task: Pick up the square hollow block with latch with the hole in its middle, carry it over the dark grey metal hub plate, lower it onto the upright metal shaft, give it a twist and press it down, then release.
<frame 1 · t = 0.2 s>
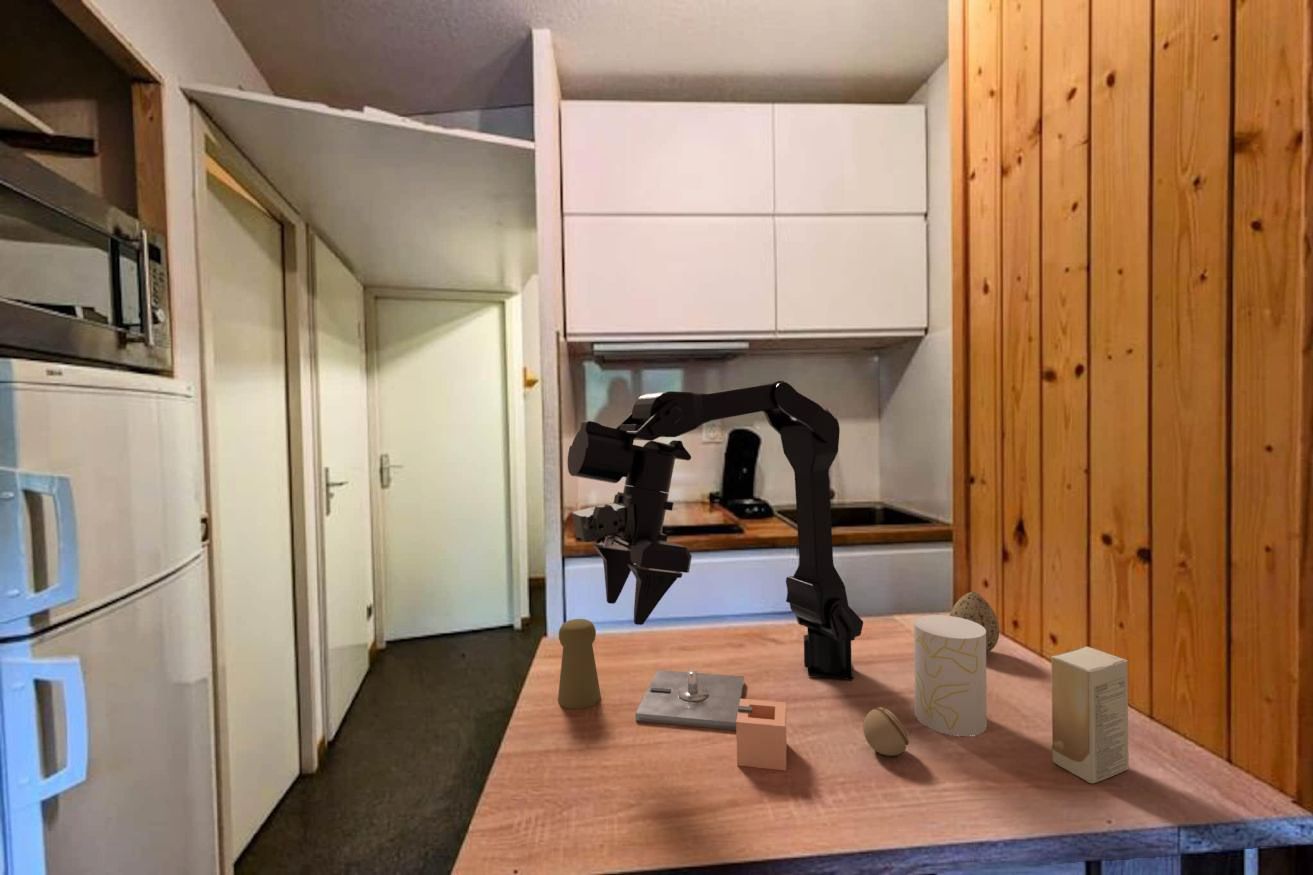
hand: (623, 613, 72), 15 cm above the table, tool pointing down, fingers open, 9 cm apart
beige rounded piece: (886, 753, 67), on the table
decorative egg: (973, 654, 93), on the table
skincare box: (1089, 768, 63), on the table
cork: (579, 699, 82), on the table
hub: (693, 700, 80), on the table
hollow block with latch: (762, 753, 67), on the table
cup: (949, 720, 73), on the table
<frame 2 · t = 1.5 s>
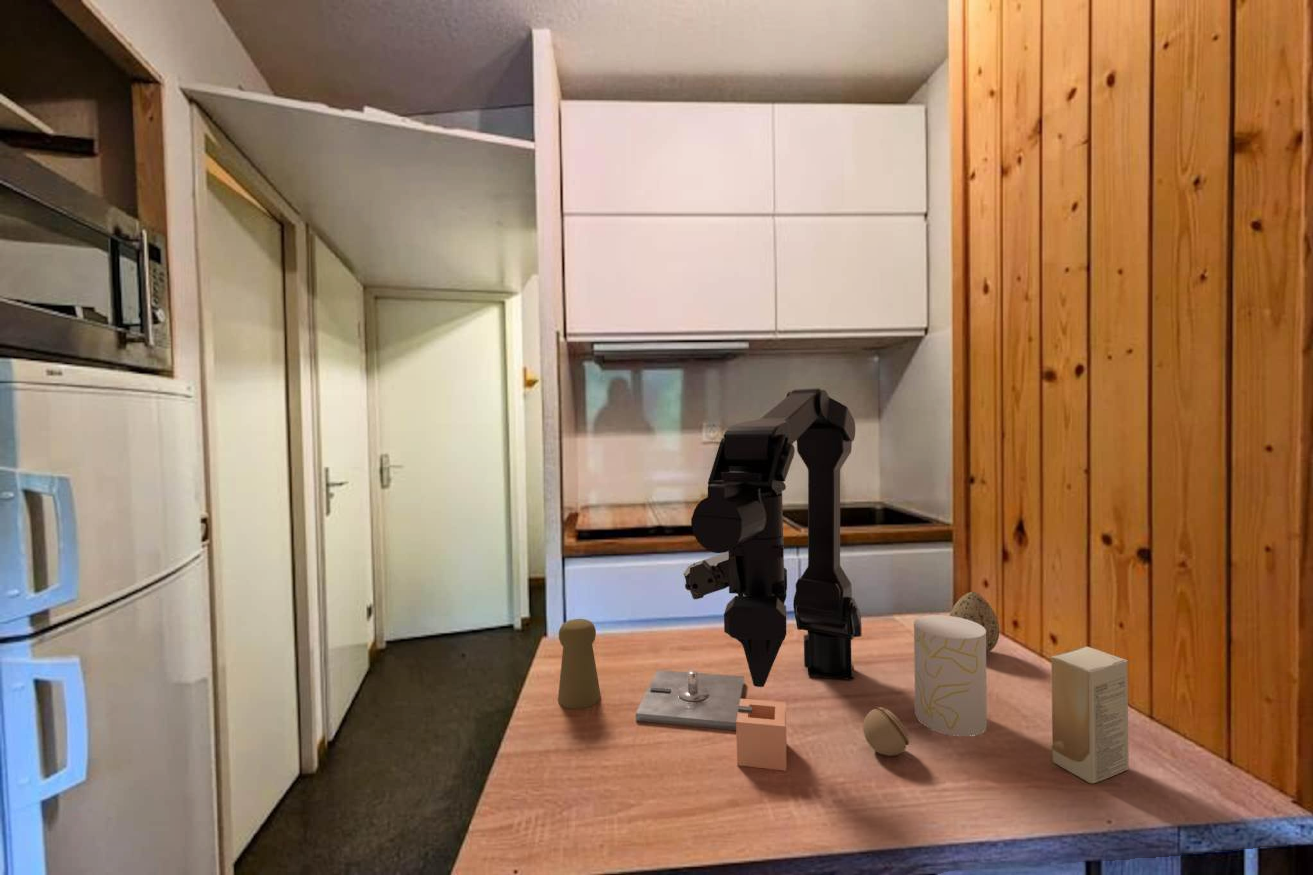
hand: (760, 667, 67), 10 cm above the table, tool pointing down, fingers open, 9 cm apart
nothing on the table moved.
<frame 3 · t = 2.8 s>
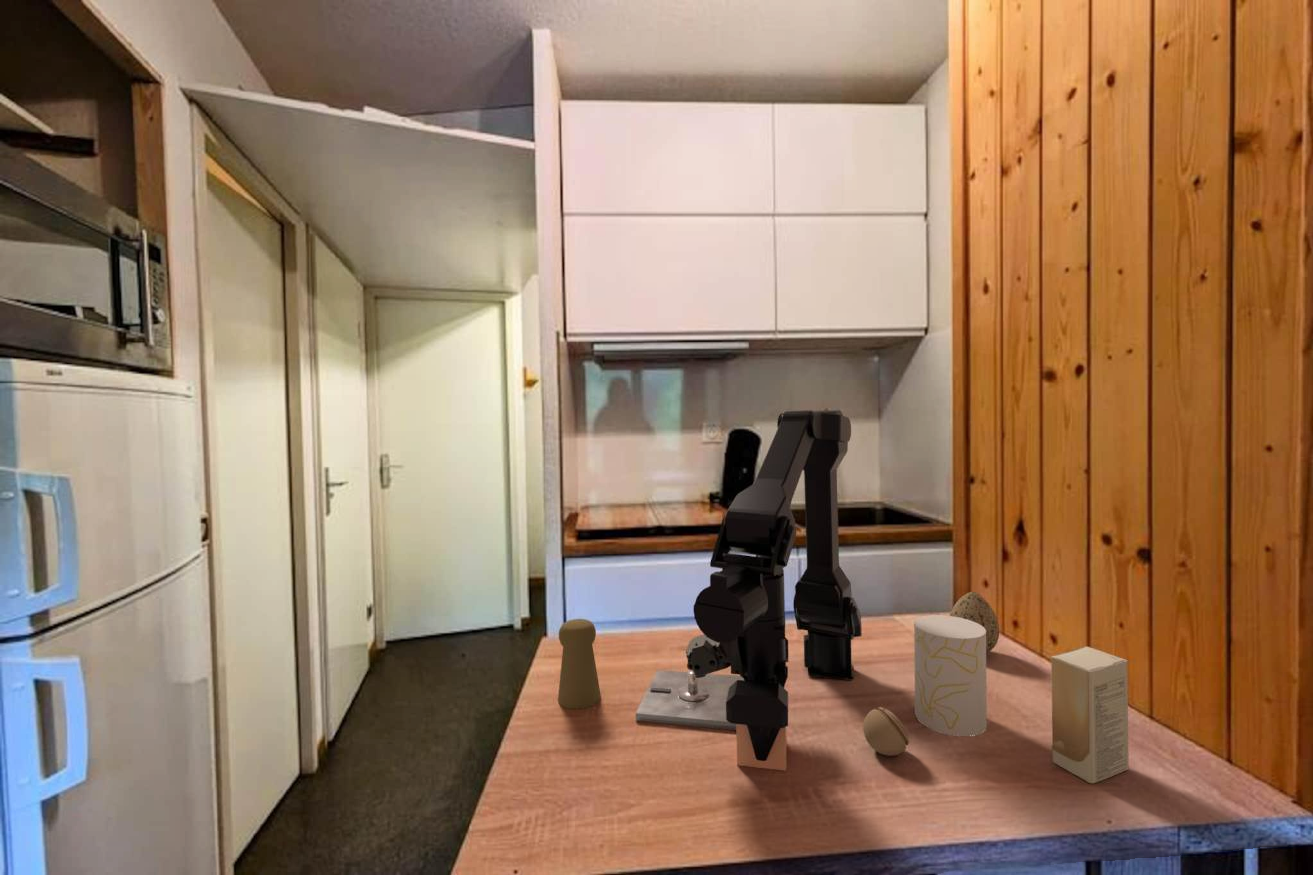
hand: (762, 745, 67), 1 cm above the table, tool pointing down, fingers closed on hollow block with latch, 5 cm apart
hollow block with latch: (762, 753, 67), on the table, touching gripper
everything else where it was.
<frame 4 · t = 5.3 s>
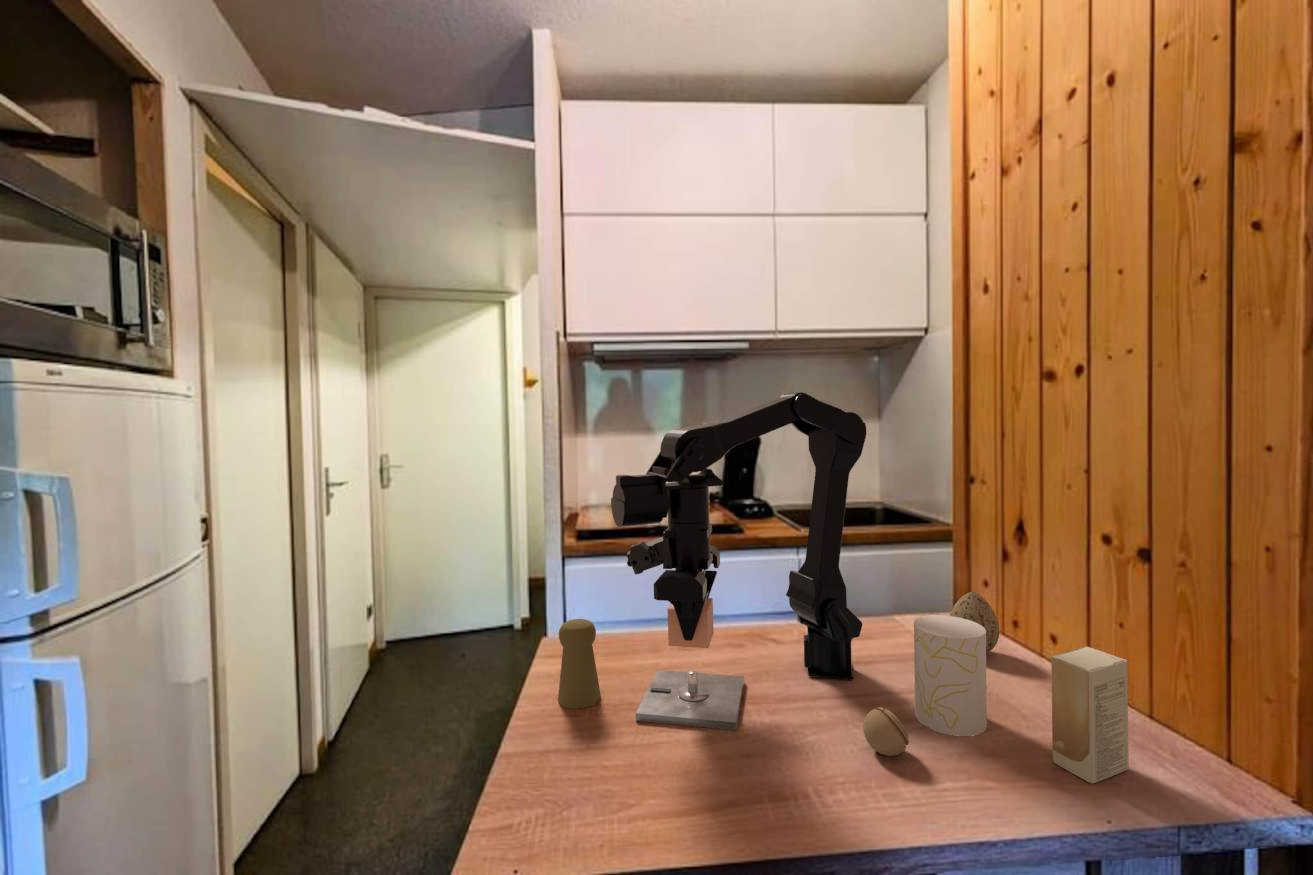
hand: (691, 632, 80), 10 cm above the table, tool pointing down, fingers closed on hollow block with latch, 5 cm apart
hollow block with latch: (691, 639, 80), point 9 cm above the table, touching gripper
everything else where it was.
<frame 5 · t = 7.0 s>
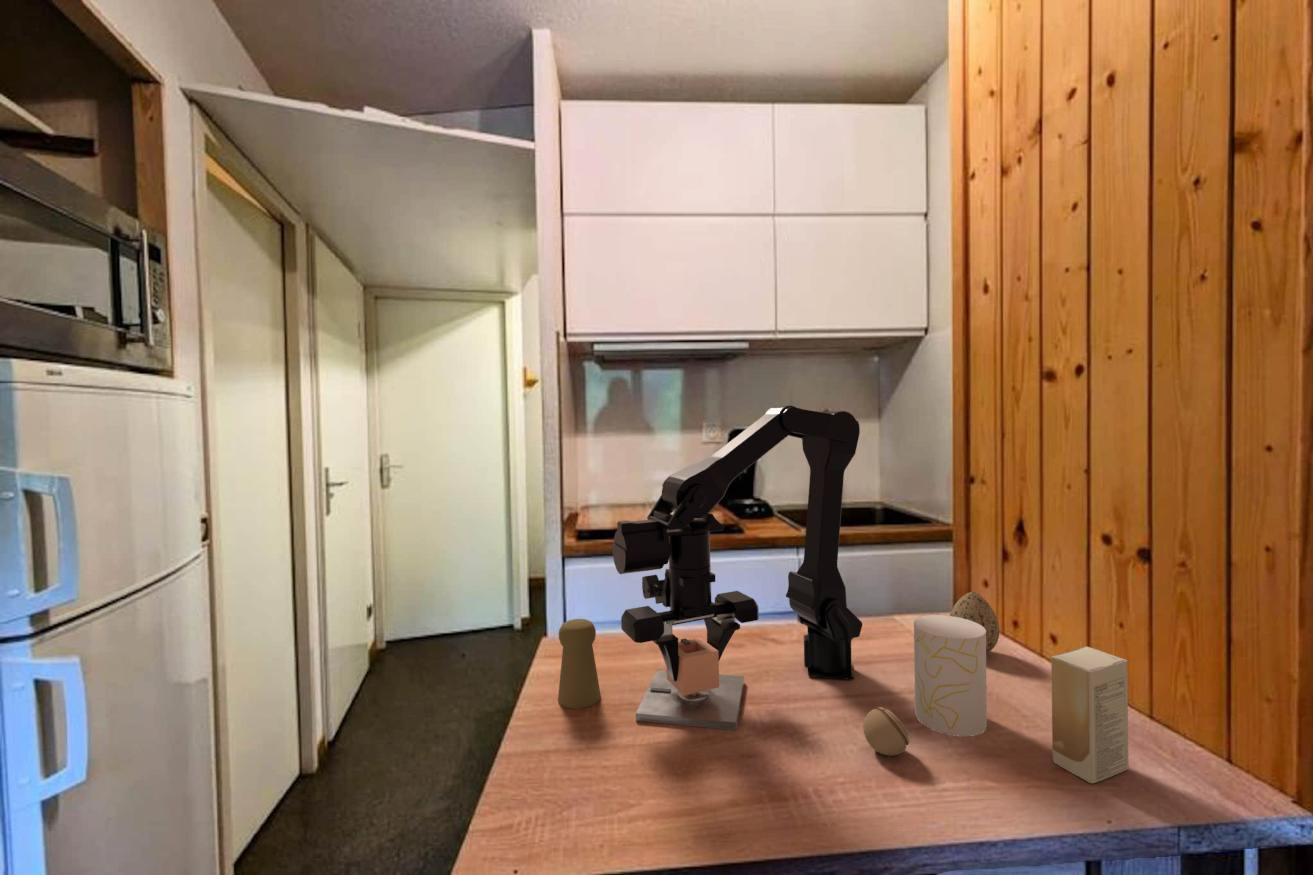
hand: (692, 675, 80), 3 cm above the table, tool pointing down, fingers closed on hollow block with latch, 5 cm apart
hollow block with latch: (692, 683, 80), point 2 cm above the table, touching gripper
everything else where it was.
when the fingers open (3 cm above the table, at t = 8.1 s): hollow block with latch stays where it is, resting on hub.
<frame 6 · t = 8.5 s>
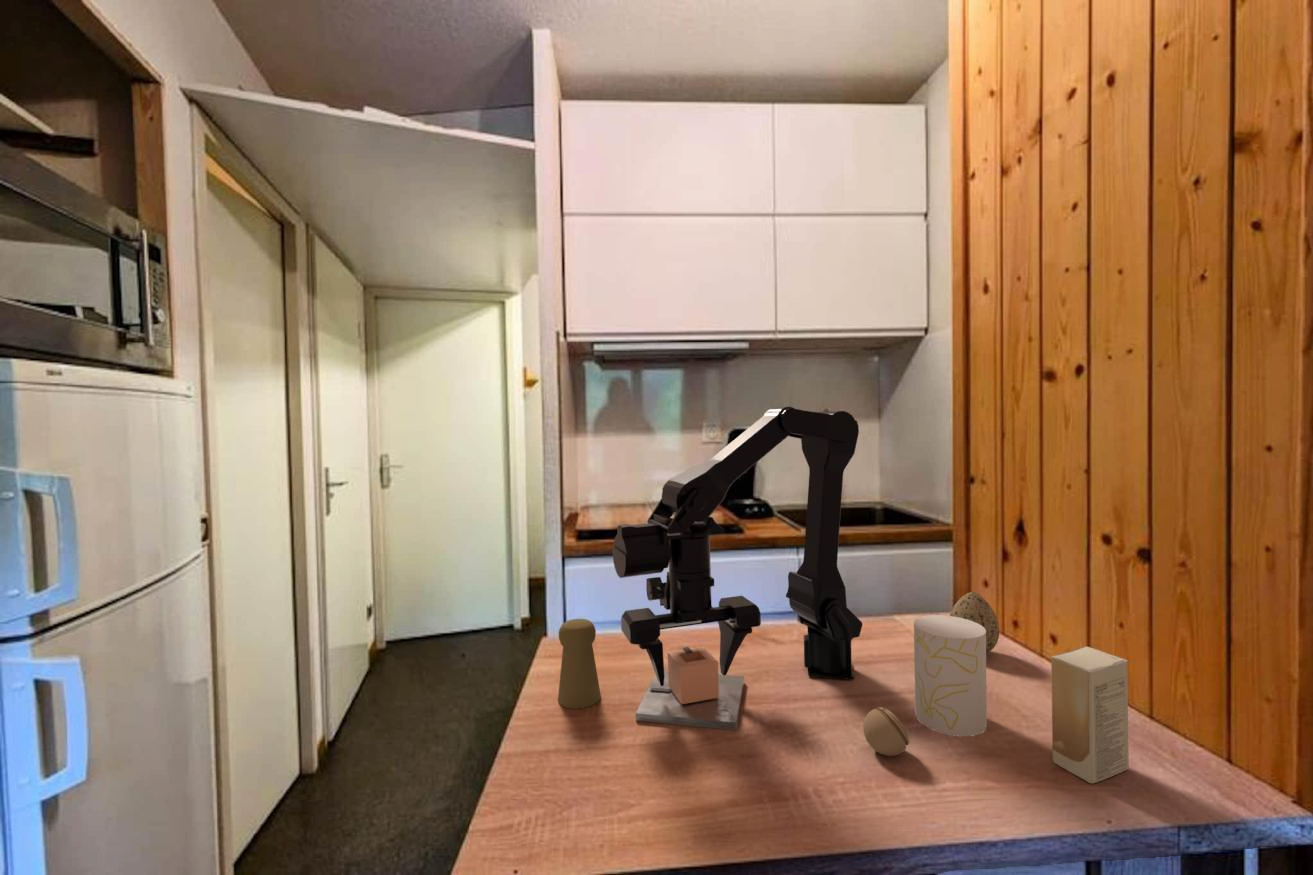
hand: (692, 679, 80), 3 cm above the table, tool pointing down, fingers open, 9 cm apart
hollow block with latch: (693, 691, 80), point 1 cm above the table, touching hub
everything else where it was.
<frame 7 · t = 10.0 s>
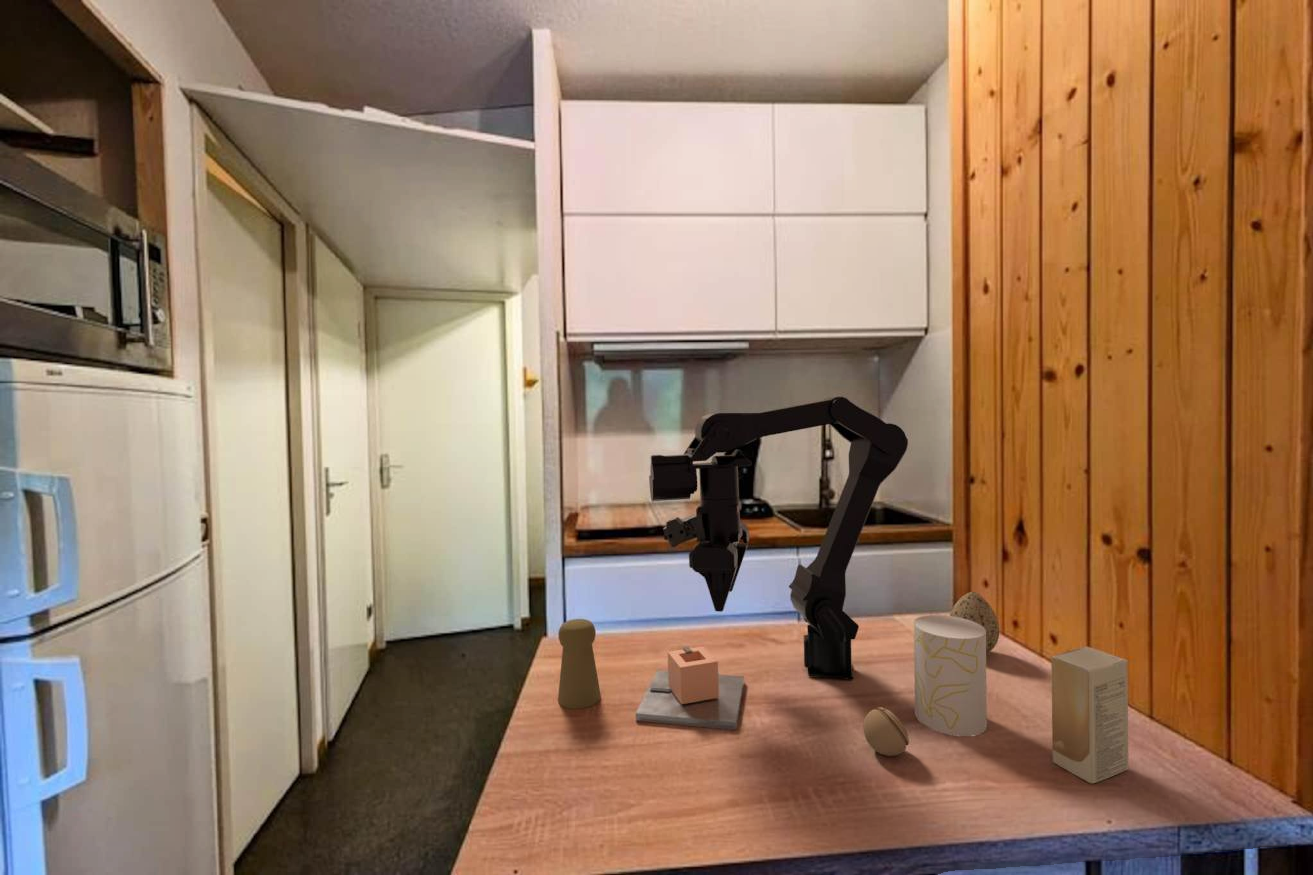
hand: (724, 600, 86), 12 cm above the table, tool pointing down, fingers open, 9 cm apart
nothing on the table moved.
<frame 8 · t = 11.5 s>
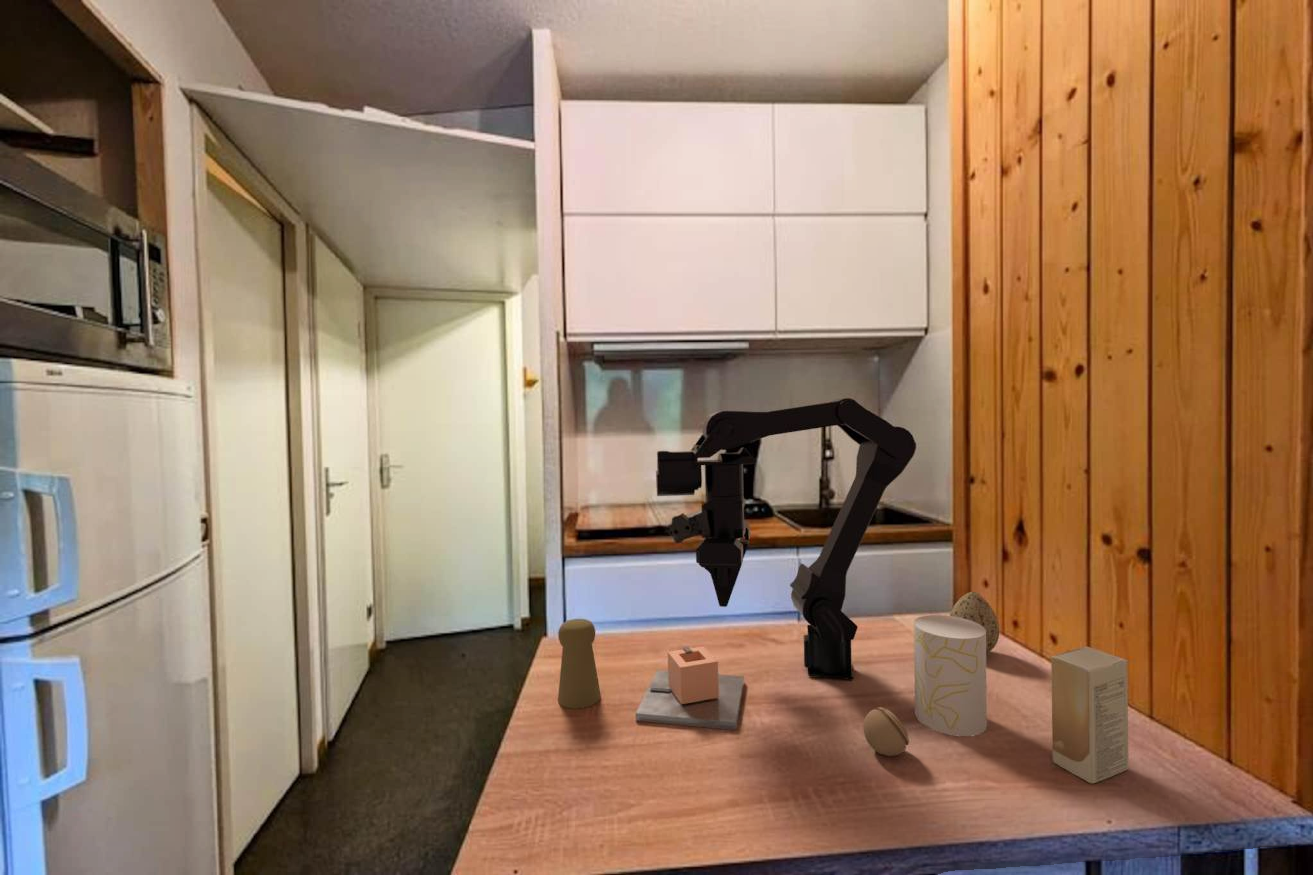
hand: (726, 596, 87), 12 cm above the table, tool pointing down, fingers open, 9 cm apart
nothing on the table moved.
at the end: hollow block with latch 0.1 cm off-centre on the hub, point 1.2 cm above the hub's base; the gripper is holding nothing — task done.
